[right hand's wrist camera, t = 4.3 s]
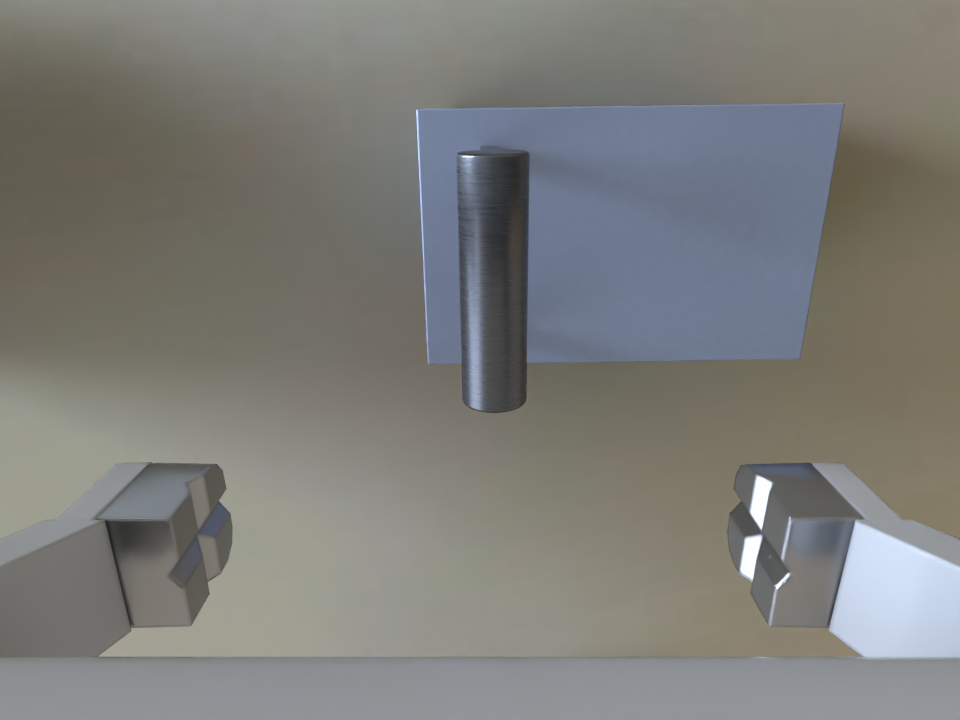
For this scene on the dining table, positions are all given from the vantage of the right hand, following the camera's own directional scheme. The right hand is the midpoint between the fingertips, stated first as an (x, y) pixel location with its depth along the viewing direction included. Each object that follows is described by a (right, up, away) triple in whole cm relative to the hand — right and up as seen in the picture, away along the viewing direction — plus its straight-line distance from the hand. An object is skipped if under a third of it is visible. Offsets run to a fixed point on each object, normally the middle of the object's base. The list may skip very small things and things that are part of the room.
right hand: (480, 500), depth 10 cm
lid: (+6, +7, +16) cm, 19 cm away
